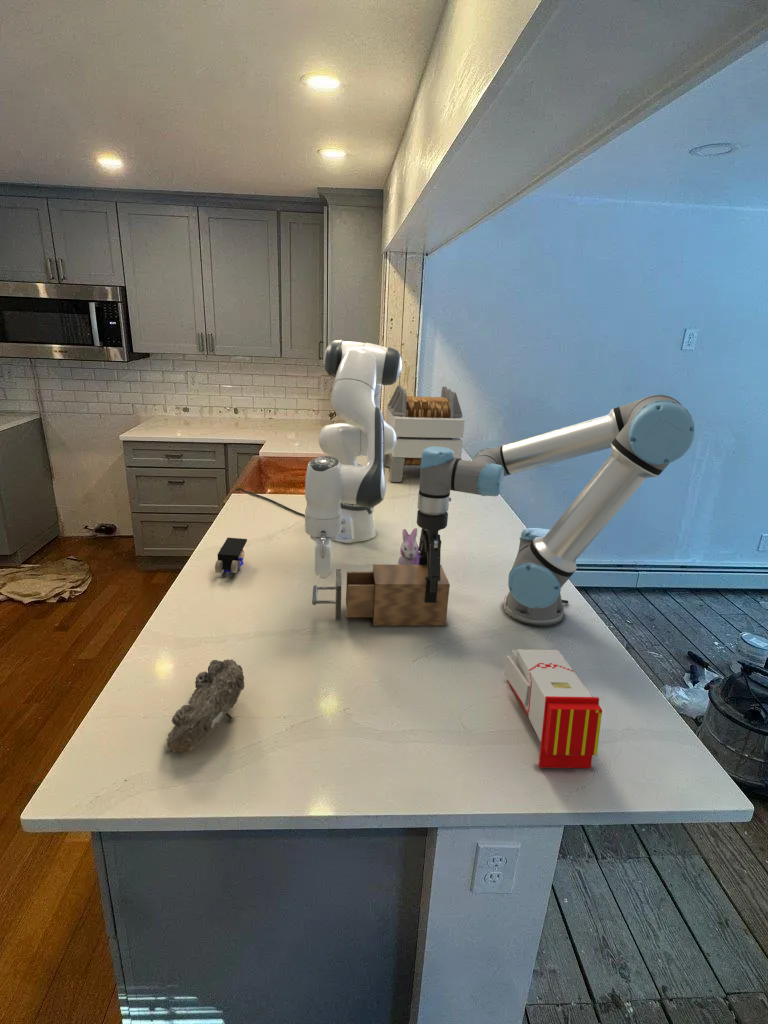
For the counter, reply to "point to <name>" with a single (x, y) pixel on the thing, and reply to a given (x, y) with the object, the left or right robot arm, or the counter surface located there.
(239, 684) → the fossil
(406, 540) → the figurine
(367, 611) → the drawer
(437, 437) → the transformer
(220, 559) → the figurine character
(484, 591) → the counter surface
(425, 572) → the cabinet
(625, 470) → the right robot arm
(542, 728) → the toy
